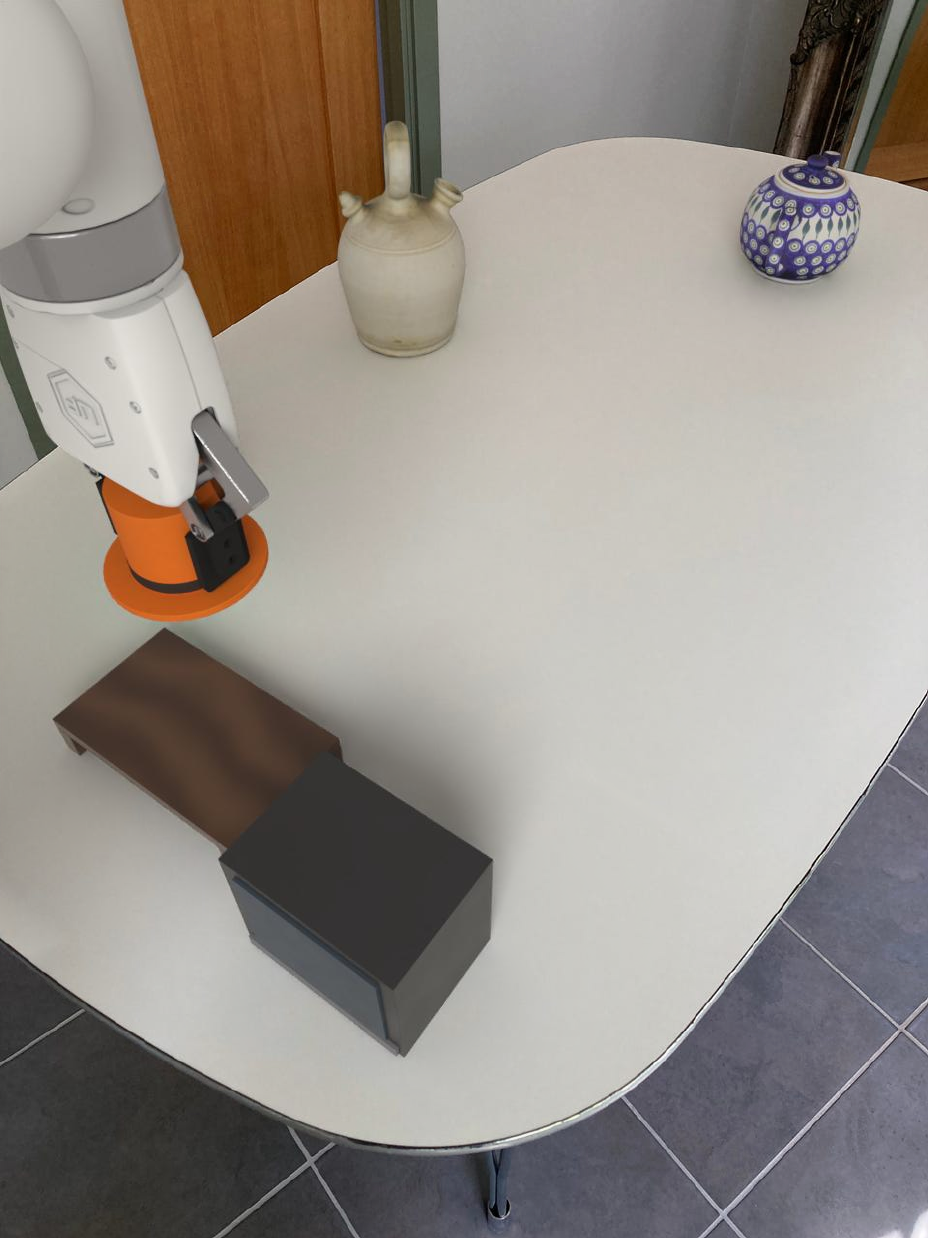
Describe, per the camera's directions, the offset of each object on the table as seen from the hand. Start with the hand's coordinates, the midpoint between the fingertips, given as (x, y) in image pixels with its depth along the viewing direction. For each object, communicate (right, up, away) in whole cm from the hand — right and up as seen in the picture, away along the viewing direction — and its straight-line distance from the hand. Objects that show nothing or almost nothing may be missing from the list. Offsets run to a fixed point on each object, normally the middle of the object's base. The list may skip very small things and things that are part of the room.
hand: (182, 546), depth 53 cm
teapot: (+60, +44, +79) cm, 108 cm away
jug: (+8, +32, +69) cm, 76 cm away
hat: (0, -1, +1) cm, 1 cm away
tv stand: (-6, -15, +26) cm, 31 cm away
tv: (+9, -27, +16) cm, 32 cm away
